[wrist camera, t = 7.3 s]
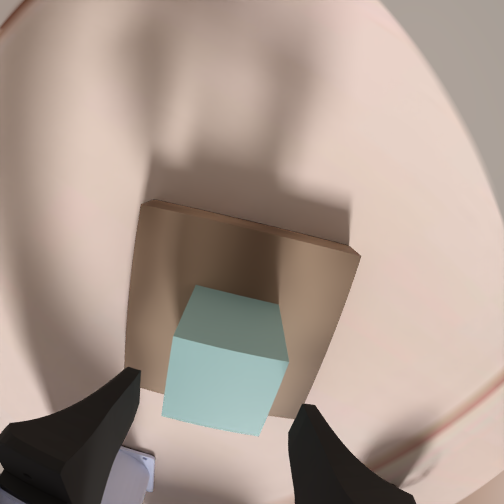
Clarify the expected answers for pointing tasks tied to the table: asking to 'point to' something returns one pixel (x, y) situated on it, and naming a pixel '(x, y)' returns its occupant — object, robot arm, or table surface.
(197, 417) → the teal block
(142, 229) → the walnut plinth
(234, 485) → the table surface
